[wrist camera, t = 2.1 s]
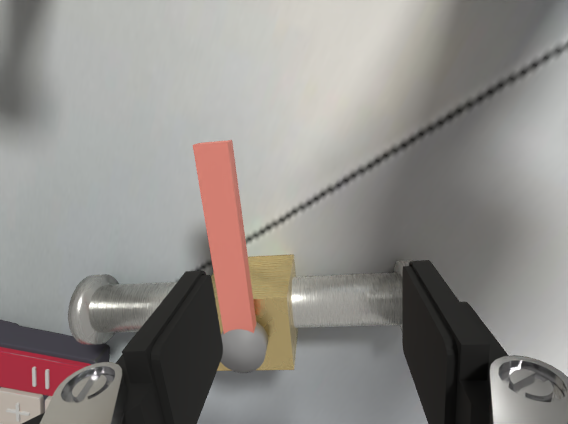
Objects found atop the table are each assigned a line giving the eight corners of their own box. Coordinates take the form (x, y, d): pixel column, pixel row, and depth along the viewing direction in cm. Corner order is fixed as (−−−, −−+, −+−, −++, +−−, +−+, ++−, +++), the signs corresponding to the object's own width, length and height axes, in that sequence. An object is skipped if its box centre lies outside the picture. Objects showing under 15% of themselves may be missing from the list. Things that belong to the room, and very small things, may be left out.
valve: (406, 248, 33) (434, 293, 25) (406, 309, 34) (432, 369, 27) (103, 264, 36) (44, 308, 28) (117, 318, 38) (65, 374, 30)
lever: (270, 357, 27) (267, 372, 26) (225, 358, 28) (220, 373, 26) (243, 138, 23) (237, 141, 21) (189, 143, 23) (180, 146, 22)
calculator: (90, 446, 39) (-45, 421, 39) (110, 413, 43) (-12, 390, 43) (93, 366, 36) (-55, 338, 36) (114, 339, 40) (-18, 314, 40)
